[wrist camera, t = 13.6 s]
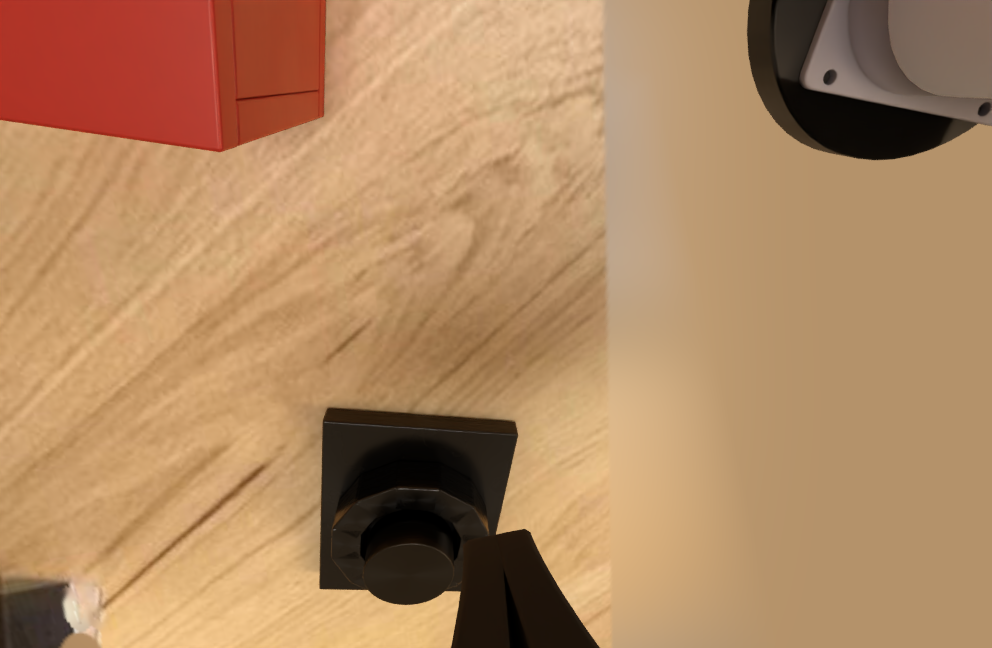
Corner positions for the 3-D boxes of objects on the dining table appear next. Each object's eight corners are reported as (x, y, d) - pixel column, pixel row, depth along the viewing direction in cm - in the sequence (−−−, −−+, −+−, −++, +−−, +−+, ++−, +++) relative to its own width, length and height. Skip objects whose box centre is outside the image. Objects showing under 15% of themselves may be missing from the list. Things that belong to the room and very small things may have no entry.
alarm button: (458, 510, 21) (459, 545, 20) (447, 569, 23) (448, 605, 21) (370, 506, 21) (365, 542, 19) (365, 567, 22) (360, 604, 20)
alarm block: (516, 421, 22) (524, 460, 20) (481, 576, 26) (485, 623, 24) (326, 407, 21) (313, 447, 19) (322, 573, 25) (311, 622, 23)
